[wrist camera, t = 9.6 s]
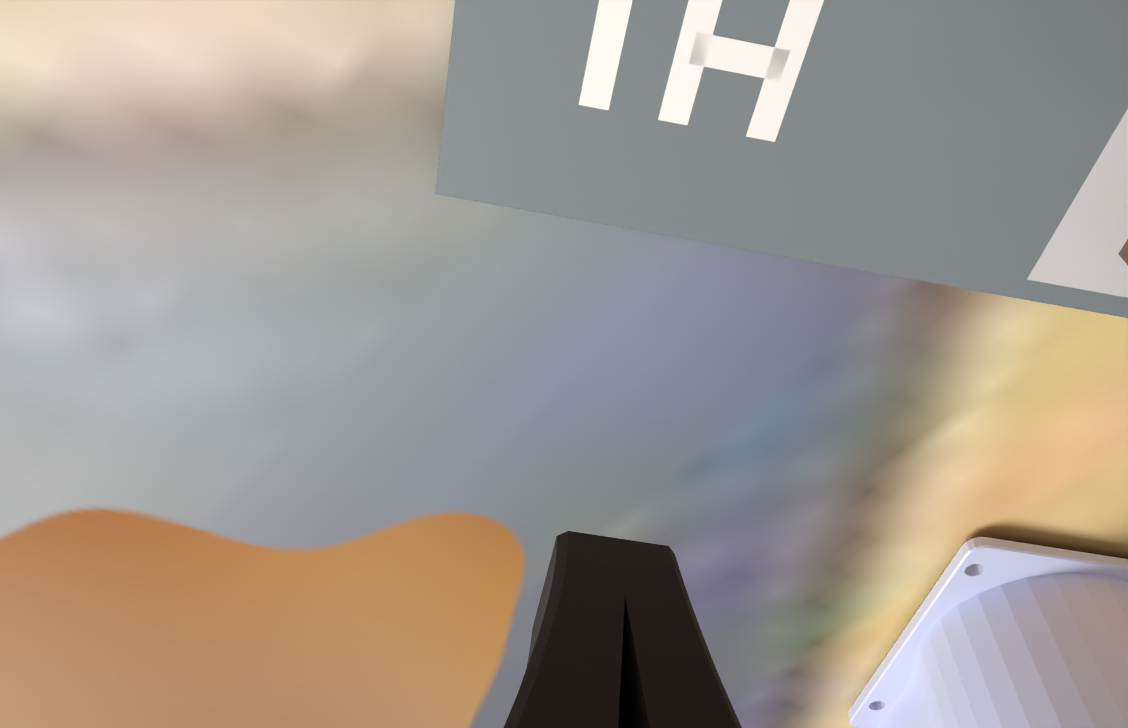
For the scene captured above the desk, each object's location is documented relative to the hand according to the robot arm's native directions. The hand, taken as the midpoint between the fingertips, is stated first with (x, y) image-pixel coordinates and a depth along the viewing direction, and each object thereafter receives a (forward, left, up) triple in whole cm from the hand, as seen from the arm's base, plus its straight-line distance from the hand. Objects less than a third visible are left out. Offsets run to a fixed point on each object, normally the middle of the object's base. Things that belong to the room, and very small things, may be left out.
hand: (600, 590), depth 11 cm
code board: (+4, -7, -10) cm, 13 cm away
